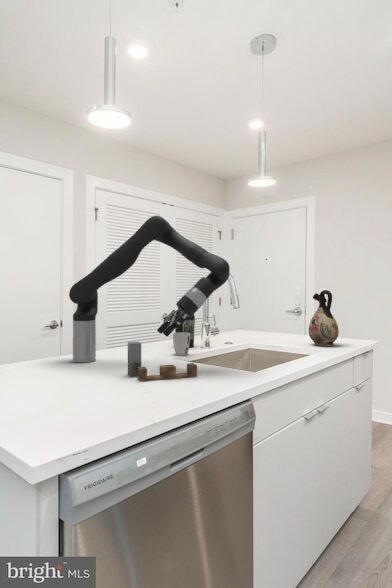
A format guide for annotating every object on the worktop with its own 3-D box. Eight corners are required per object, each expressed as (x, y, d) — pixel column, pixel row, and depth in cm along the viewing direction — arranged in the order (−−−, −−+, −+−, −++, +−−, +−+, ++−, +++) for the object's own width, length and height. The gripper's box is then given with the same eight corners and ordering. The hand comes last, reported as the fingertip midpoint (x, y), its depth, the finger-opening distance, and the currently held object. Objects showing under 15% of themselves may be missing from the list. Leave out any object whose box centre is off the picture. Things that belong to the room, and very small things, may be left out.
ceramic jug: (302, 344, 209) (302, 289, 209) (323, 342, 216) (324, 289, 215) (324, 348, 194) (325, 290, 194) (347, 346, 200) (347, 289, 200)
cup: (189, 356, 173) (189, 334, 173) (172, 356, 173) (172, 334, 173) (190, 353, 181) (190, 332, 181) (173, 353, 181) (173, 332, 181)
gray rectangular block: (129, 376, 132) (129, 343, 132) (127, 374, 137) (127, 342, 136) (141, 376, 134) (141, 343, 134) (138, 373, 138) (138, 341, 138)
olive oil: (171, 346, 202) (170, 299, 202) (187, 345, 208) (187, 299, 207) (181, 349, 193) (181, 299, 193) (198, 347, 199) (198, 299, 199)
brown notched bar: (140, 381, 126) (140, 369, 126) (137, 378, 129) (137, 367, 129) (197, 376, 132) (197, 365, 132) (193, 374, 136) (193, 363, 136)
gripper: (179, 294, 148) (150, 324, 144) (191, 294, 134) (159, 328, 131) (192, 307, 150) (163, 338, 146) (205, 309, 136) (174, 343, 133)
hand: (161, 333), depth 138 cm, fingers open, 8 cm apart
